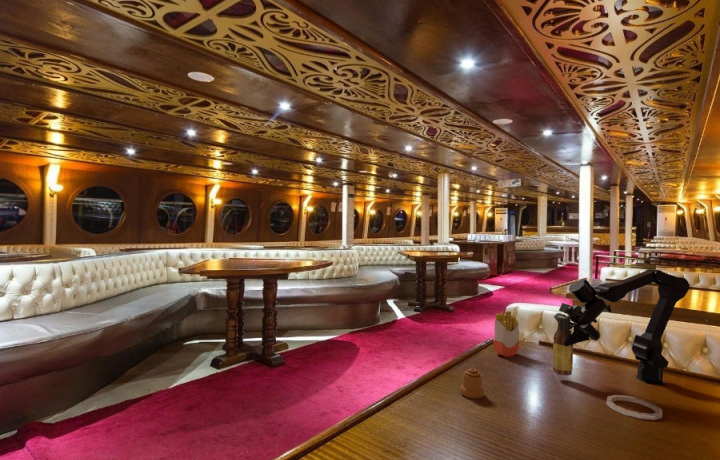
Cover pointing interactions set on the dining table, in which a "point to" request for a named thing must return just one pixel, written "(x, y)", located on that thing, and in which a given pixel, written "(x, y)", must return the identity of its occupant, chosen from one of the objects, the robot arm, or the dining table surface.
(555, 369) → the sauce bottle
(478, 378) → the ornamental finial
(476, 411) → the dining table surface
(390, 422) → the dining table surface
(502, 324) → the french fries container
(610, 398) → the white faceted ring
